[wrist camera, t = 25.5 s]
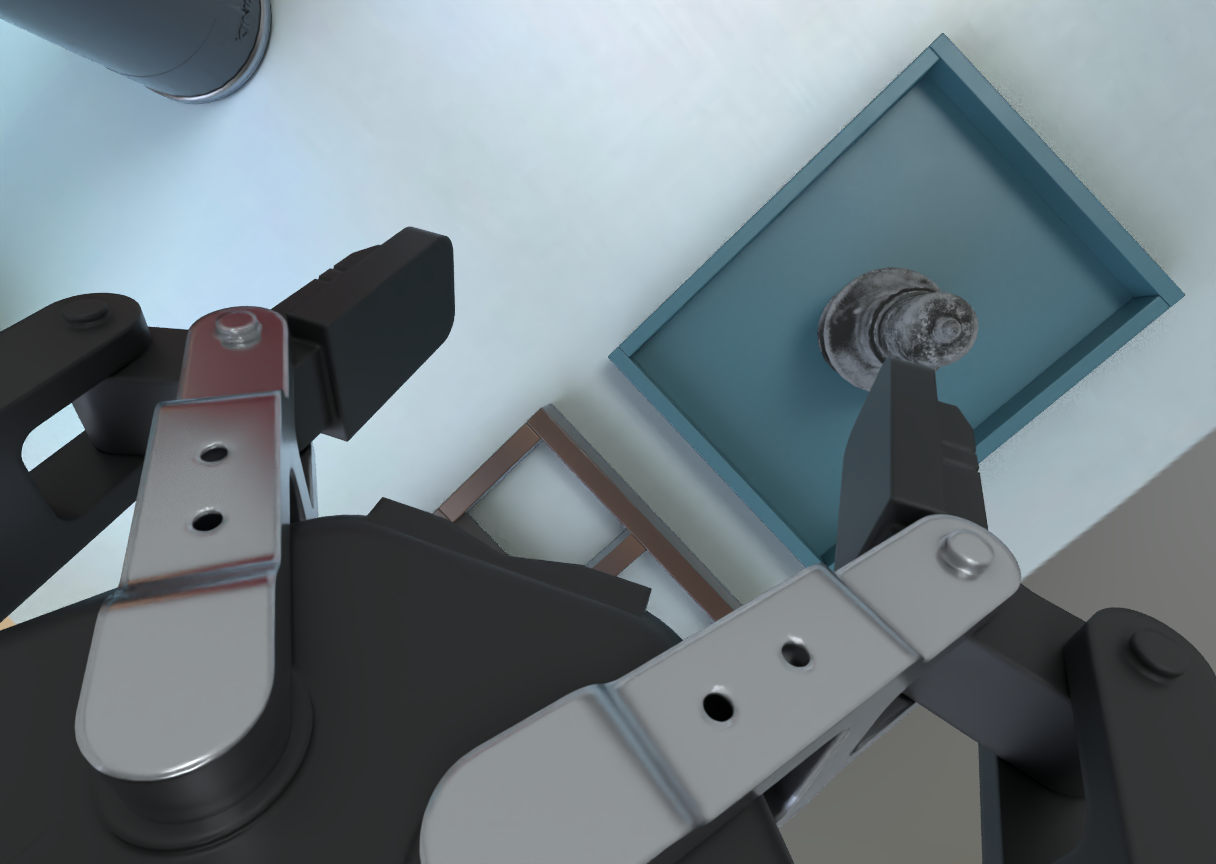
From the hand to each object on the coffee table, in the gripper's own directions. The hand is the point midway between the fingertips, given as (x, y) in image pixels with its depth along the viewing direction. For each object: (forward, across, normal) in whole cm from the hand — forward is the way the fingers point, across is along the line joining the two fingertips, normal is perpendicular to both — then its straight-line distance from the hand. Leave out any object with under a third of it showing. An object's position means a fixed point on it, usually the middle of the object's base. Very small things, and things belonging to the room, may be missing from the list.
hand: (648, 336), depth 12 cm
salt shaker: (+23, -8, +11) cm, 27 cm away
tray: (+24, -7, +11) cm, 27 cm away
